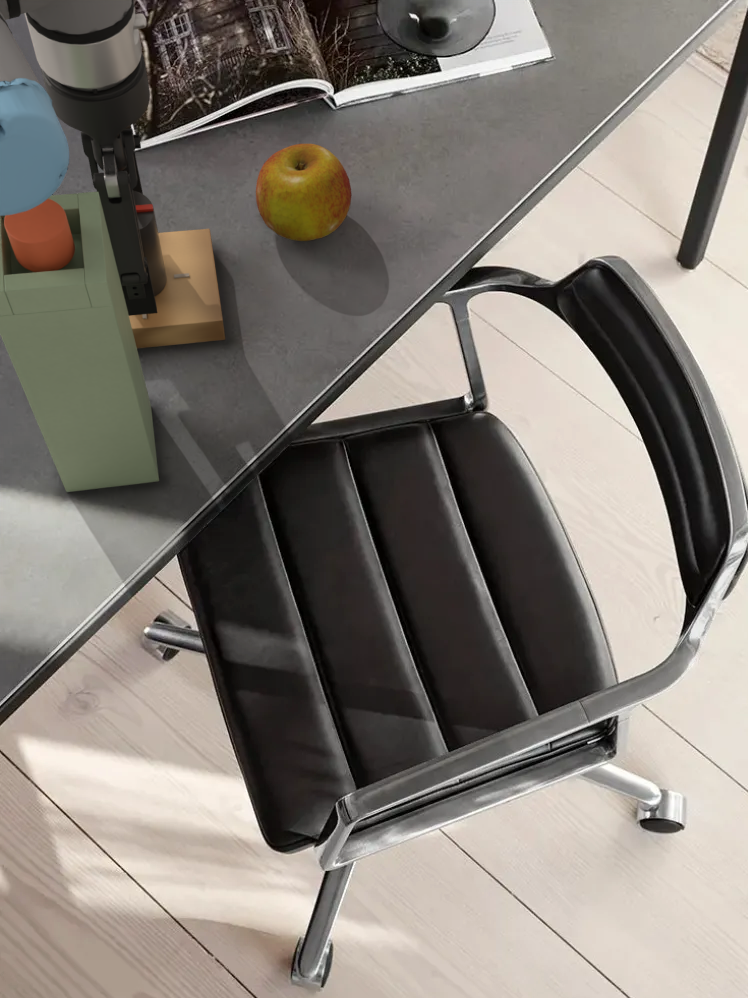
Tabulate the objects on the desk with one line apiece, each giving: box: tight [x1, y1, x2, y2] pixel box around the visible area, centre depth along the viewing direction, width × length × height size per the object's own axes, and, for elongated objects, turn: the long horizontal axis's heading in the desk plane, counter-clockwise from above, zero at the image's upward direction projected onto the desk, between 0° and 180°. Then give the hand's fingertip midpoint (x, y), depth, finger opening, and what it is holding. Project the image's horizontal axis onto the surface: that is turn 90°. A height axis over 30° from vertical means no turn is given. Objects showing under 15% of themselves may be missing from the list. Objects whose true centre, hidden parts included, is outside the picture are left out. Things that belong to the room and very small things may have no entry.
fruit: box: [255, 143, 352, 242], centre depth 110 cm, size 10×9×8 cm
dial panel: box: [129, 228, 226, 349], centre depth 106 cm, size 14×11×3 cm
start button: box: [4, 199, 75, 272], centre depth 76 cm, size 4×4×3 cm
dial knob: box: [133, 191, 167, 296], centre depth 101 cm, size 5×5×9 cm
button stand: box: [0, 191, 160, 493], centre depth 89 cm, size 8×8×27 cm
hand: (136, 259), depth 102 cm, fingers open, 11 cm apart
